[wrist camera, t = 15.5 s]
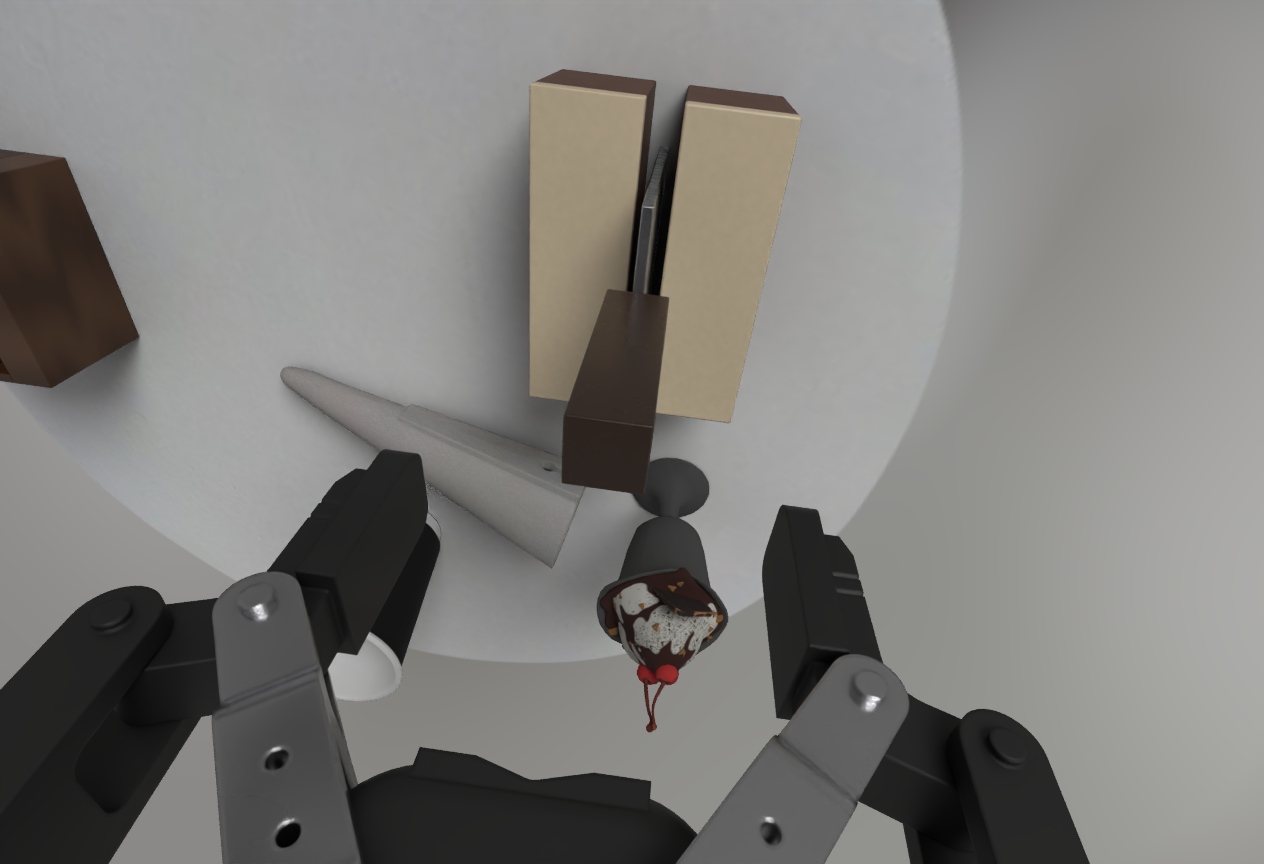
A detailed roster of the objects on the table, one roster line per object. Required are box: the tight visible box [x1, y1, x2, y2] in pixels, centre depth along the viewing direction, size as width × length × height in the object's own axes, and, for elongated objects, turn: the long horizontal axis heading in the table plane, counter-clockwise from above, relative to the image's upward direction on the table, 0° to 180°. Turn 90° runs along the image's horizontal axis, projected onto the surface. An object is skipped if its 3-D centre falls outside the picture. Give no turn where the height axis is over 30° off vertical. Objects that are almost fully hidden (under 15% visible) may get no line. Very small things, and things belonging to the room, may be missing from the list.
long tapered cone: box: [280, 367, 585, 568], centre depth 37 cm, size 6×6×19 cm
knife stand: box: [0, 149, 139, 388], centre depth 31 cm, size 10×5×6 cm, turn 174°
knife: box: [561, 147, 670, 495], centre depth 22 cm, size 8×2×18 cm, turn 174°
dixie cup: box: [328, 513, 441, 701], centre depth 39 cm, size 8×8×11 cm
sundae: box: [597, 458, 728, 732], centre depth 33 cm, size 7×7×15 cm
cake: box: [530, 69, 802, 423], centre depth 27 cm, size 13×10×6 cm
